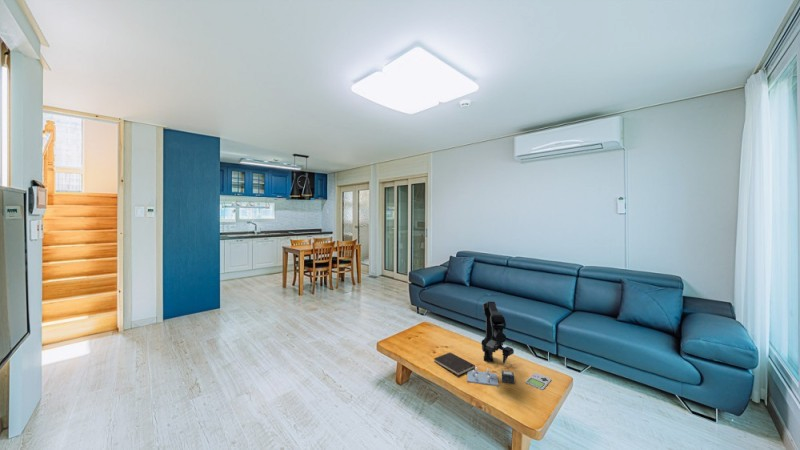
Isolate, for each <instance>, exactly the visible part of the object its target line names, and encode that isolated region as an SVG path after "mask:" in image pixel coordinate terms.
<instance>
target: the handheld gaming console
mask: <svg viewBox="0 0 800 450" xmlns="http://www.w3.org/2000/svg"><path fill="white" fill-rule="evenodd" d="M551 381H552V378H551V377H548V376H545V375H543V374H541V373H538V372H533V373H532V374H531V375H530V376H529V377H528V378H527V379H526V380H525V384H526V385H529V386H530V387H532V388H533V387H534V388H536V389H538V390H540V391H544V389H545V388H546V387H547V386H548V385H549V383H551Z"/></svg>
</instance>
